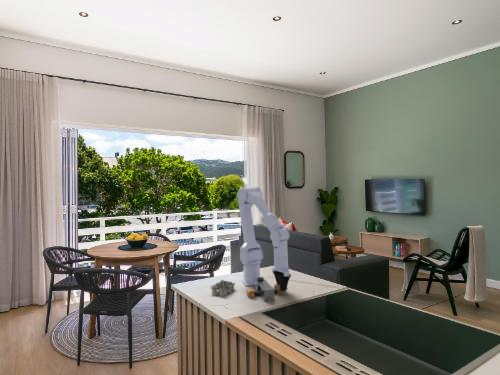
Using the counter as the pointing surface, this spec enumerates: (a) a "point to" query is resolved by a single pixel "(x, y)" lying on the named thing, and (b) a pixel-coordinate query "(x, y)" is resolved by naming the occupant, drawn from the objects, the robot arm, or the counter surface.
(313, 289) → the counter surface
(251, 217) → the robot arm
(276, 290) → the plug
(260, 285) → the motor housing
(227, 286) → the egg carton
